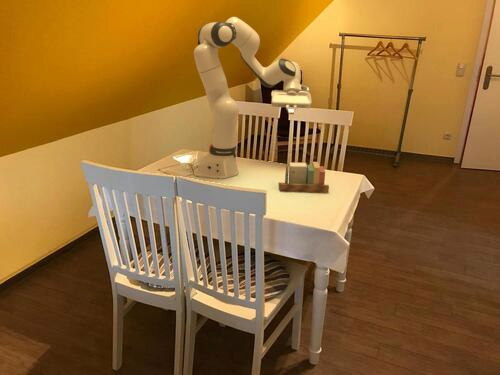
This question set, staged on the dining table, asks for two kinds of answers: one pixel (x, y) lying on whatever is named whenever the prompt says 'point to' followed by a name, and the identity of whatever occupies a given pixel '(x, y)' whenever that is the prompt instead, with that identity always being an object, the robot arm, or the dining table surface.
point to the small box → (297, 173)
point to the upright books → (315, 174)
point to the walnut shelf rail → (304, 188)
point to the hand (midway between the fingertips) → (291, 113)
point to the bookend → (285, 176)
